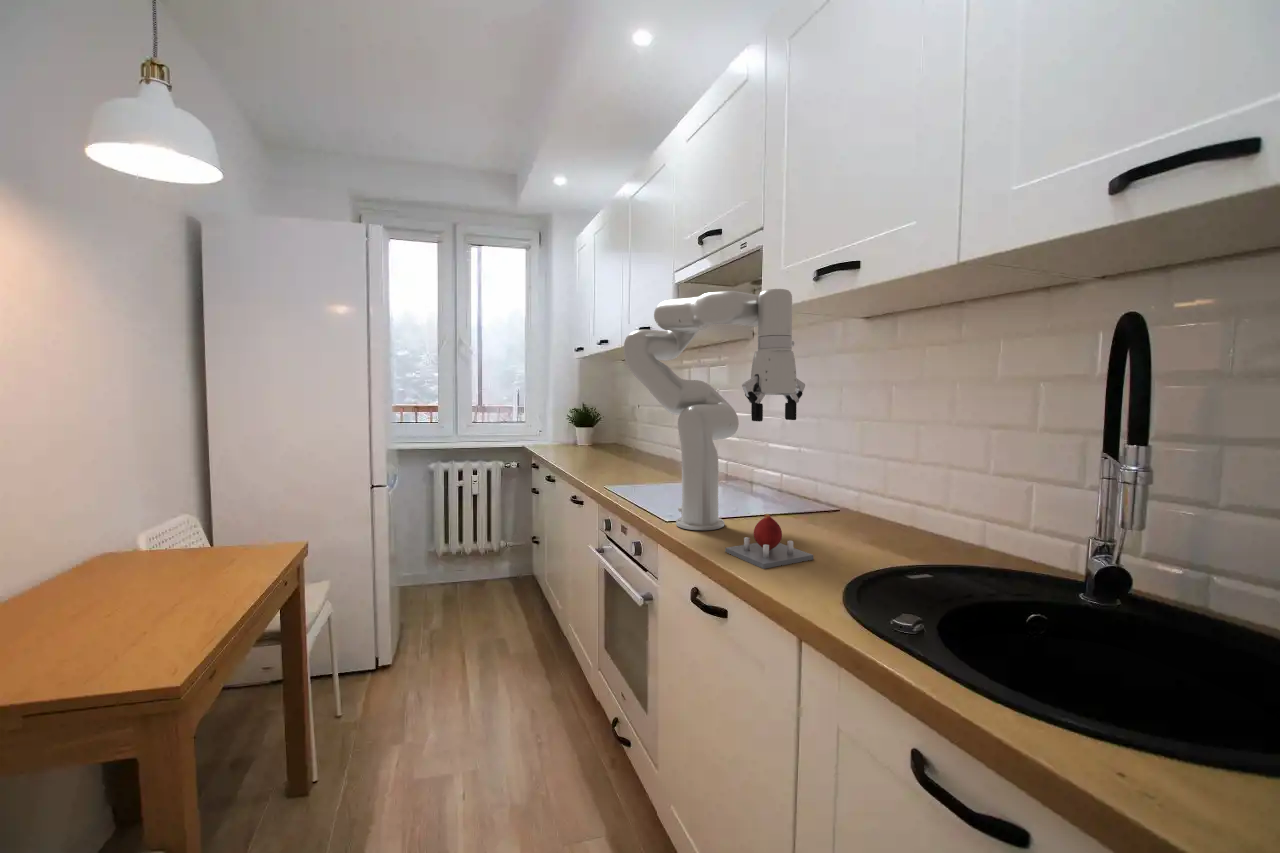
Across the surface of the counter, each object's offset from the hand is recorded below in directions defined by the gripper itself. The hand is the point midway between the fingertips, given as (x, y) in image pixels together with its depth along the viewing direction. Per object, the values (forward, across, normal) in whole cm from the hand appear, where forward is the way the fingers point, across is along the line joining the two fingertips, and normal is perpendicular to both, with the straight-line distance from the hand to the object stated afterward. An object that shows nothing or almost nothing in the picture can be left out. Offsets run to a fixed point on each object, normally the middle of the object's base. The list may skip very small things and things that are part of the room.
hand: (774, 420), depth 129 cm
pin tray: (+28, +8, +8) cm, 30 cm away
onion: (+28, +8, +8) cm, 30 cm away
